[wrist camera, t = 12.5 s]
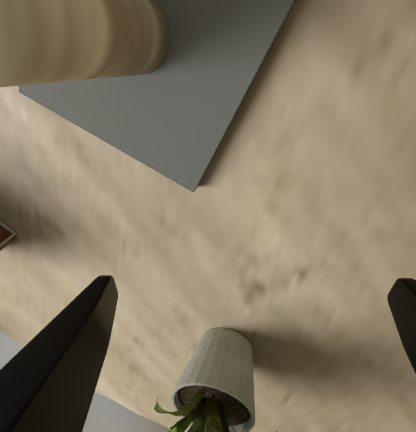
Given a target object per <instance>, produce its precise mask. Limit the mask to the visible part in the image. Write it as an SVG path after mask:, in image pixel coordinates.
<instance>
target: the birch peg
mask: <svg viewBox="0 0 416 432" xmlns="http://www.w3.org/2000/svg"><path fill="white" fill-rule="evenodd" d="M169 40H170V35H169V27H168V23H167V20H166V17H165V15H164V13H163V11H162V9H161V8H160V6H159V5H158V4H157V3H156V2H155V1H154V0H0V87H8V86H20V85H31V84H43V83H54V82H66V81H77V80H89V79H100V78H111V77H123V76H134V75H145V74H149V73H151V72H153V71H155V70H156V69H157V68H158V67H159V66H160V65H161V64H162V63H163V61H164V59H165V57H166V55H167V52H168V48H169Z"/></svg>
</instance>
